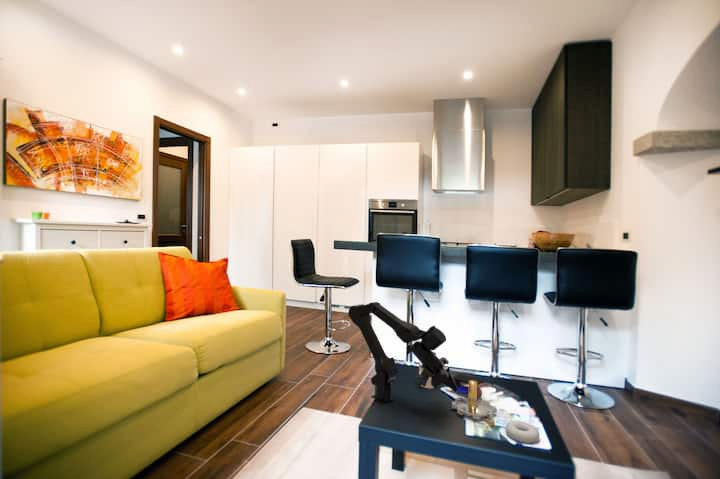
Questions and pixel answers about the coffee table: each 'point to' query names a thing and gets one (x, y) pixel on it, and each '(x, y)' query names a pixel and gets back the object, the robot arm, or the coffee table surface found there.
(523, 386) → the coffee table surface
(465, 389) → the figurine character
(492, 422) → the timing mark
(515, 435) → the donut
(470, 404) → the sprocket wheel
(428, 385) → the teacup with lid
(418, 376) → the robot arm
